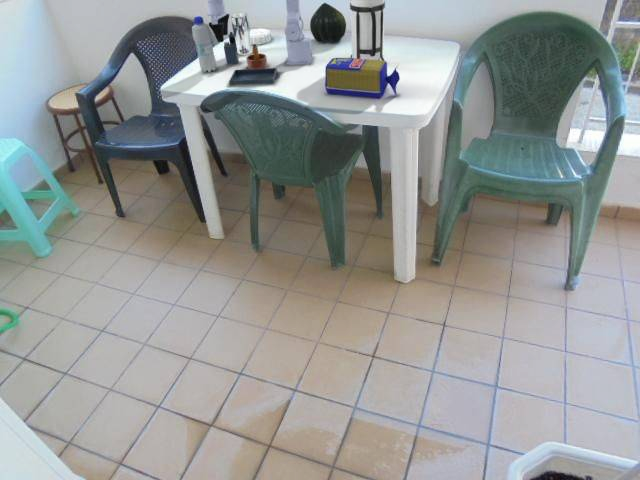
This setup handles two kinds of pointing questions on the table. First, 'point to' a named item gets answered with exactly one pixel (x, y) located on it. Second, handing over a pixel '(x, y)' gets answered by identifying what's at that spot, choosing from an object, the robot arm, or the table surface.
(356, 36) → the coffee press
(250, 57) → the pen cup
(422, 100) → the table surface
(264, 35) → the mooncake
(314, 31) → the squash
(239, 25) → the beer glass
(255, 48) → the marker
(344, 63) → the bread
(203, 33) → the bottle
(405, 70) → the table surface
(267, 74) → the tray
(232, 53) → the vaping device
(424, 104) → the table surface
